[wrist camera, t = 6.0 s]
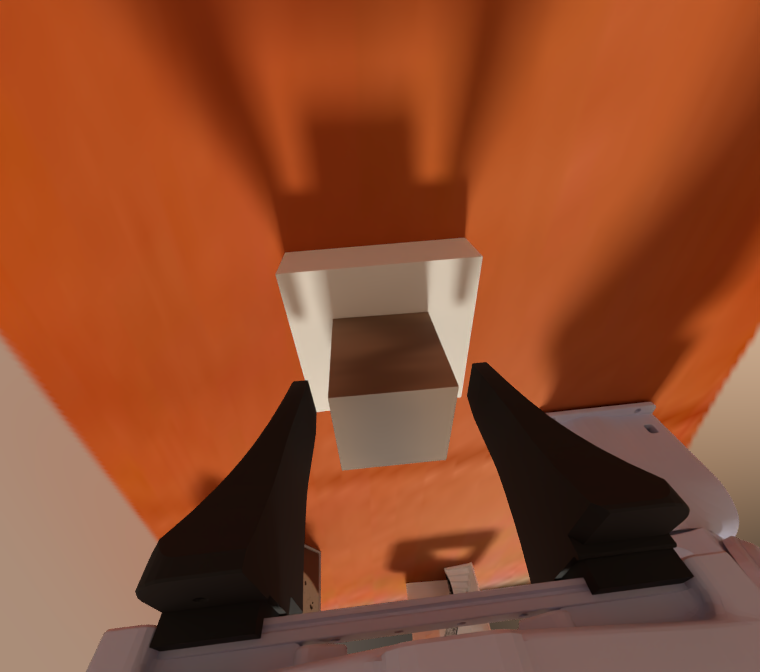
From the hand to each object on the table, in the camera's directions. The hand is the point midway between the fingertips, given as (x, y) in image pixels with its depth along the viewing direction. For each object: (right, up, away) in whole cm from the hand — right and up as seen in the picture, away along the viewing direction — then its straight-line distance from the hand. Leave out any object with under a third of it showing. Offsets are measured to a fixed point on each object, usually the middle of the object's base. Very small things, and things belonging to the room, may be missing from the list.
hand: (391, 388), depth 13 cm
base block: (-1, +4, +5) cm, 6 cm away
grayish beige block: (0, +1, +3) cm, 3 cm away
